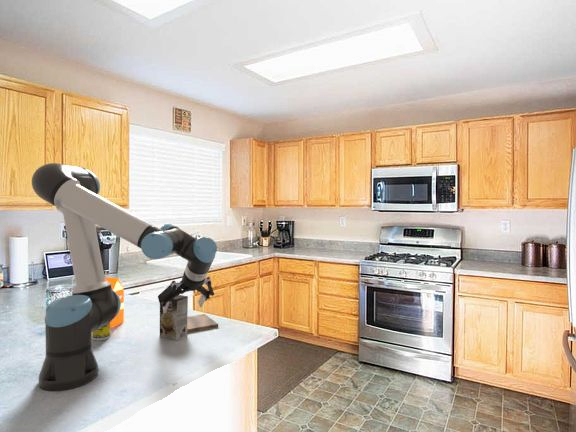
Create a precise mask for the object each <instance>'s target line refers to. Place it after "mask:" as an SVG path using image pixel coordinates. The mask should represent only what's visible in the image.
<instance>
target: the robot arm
mask: <svg viewBox="0 0 576 432" xmlns="http://www.w3.org/2000/svg"><path fill="white" fill-rule="evenodd" d="M100 183H101V182H100V181H99V179H98V177H97V176H96V174H95V173H93V172H92V170H89V169H88V168H87V169H86V168H84V167H81V166H77V165H73V166H72V165H67V164H61V163H55V162H53V163H52V162H51V163H46V164H43V165H40V166H39V167H37V169H35V171H34V173H33V175H32V177H31V187H32V189H33V192H34V193H35V194H36V195H37V196H38V197H39V198H40V199H42V200H43V201H45V202H47V203H49V204H51V205H53V206H54V207H56V210H57V211H58V212H60V213H62V216H63V220H64V225H65V231H66V237H67V243H68V249H69V254H70V259H71V264H72V270H73V277H75V278H74V282H75V285H76V287H75V286H74V288H73V289H72V291H71V295H67V296H65V297H63V296H62V297H59V298H57V299H55V300H53V301H51V302H50V303H49V304H47V306H46V308H45V316H44V323H45V357H44V360H43V363H42V366H41V369H40V371H39V375H38V387H39V388H40V389H42V390H45V391H50V392H51V391H65V390H71V389H74V388H77V387H80V386H83V385H86V384H89V383H90V382H91V381H93V380H94V379H96V377H97V376H98V375H99V364H98V362H97V359H96V357H95V353H94V352H93V349H92V346H93V345H92V340H93V339H92V332H94V331H96V330H97V329H99V328H101V327H102V326H105V325H107V324H108V323H110V322H111V321H112V320H113V319H114V318H115V317H116V316H117V315H118V313H119V311H120V307H121V301H120V297H119V295H118V294H117V293H115V292H114V290H112V287H111V283H110V282H108V281H106V280H105V277H106V276H105V273H104V272H105V271H104V267H103V262H102V261H103V260H102V255H101V251H100V250H101V249H100V245H99V238H98V232H97V228H96V225H97V226H99V227H100V228H103V230H104V229H105V230H107V231H108V232H110V233H111V234H113V235H115V236H117V237H119V238H121V239H122V240H124V241H127V242H128V243H130V244H132V245H134V246H135V247H138V248H140V249H141V252H142V253H143V255H144V256H145V257H147V258H149V259H151V260H158V259H164V258H166V257H168V256H171V255H173V254H176V255H177V256H179V257H180V258H182V259H184V260H186V261H187V263H186V266H185V268H184V272H183V274H182V276H181V277H182V278H181V281H179V282H176V280H171V282H170V284H169V285H168V286H167V287H166V288H165V289H164V290H162V292H160V293H159V294H158V295H157V299H158V303H159V304H160V303H162V307H163V312H164V313H166V311H167V308H168V305H169V301H170V300H172V299H173V298H175V297H176V296H178V295H183V294H185V293H187V292H194V291H197V292H198V293H200V297H199V298H198V306H199V308H202V307H203V306H204V303H205V301H207V300H209V299H211V298H210V296H213V297H214V295H215V292H214V288H213V287H212V281H211V277H210V276H208V277H207V275H208V273H209V271H210V269H211V266H212V264H213V262H214V260H215V258H216V254H217V250H218V246H217V243H216V241H214V239H212V238H210V237H206V236H201V237H198V238H196V237H194V236H192V235H191V234H189V233H188V232H186V231H184V230H183V229H181V228H179V226H176V225H173V224H171V223H170V222H169V223H168V222H167V223H165V224H163V225H162V226H161V227H160V228H159V227H157V226H155V225H153V224H152V223H150V222H148V221H146V220H144V219H142V218H141V217H140V216H137V215H135V214H133V213H132V212H129V211H128V210H126V209H125V208H122V207H121V206H119V205H118V204H115V203H113V202H111V201H109V200H108V199H106V198H104V197H102V196H101V195H99V194H100V190H101V184H100ZM204 285H205V286H207V288H205V286H204Z"/></svg>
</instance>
